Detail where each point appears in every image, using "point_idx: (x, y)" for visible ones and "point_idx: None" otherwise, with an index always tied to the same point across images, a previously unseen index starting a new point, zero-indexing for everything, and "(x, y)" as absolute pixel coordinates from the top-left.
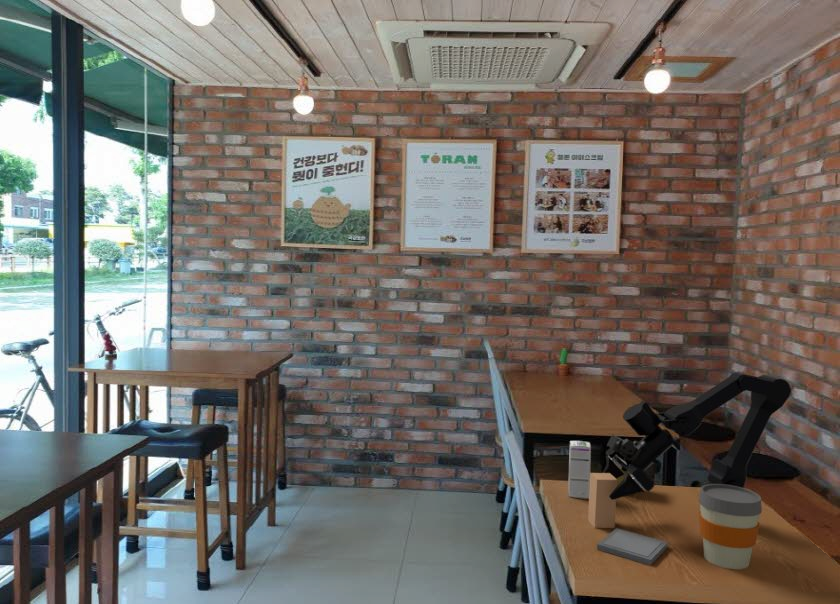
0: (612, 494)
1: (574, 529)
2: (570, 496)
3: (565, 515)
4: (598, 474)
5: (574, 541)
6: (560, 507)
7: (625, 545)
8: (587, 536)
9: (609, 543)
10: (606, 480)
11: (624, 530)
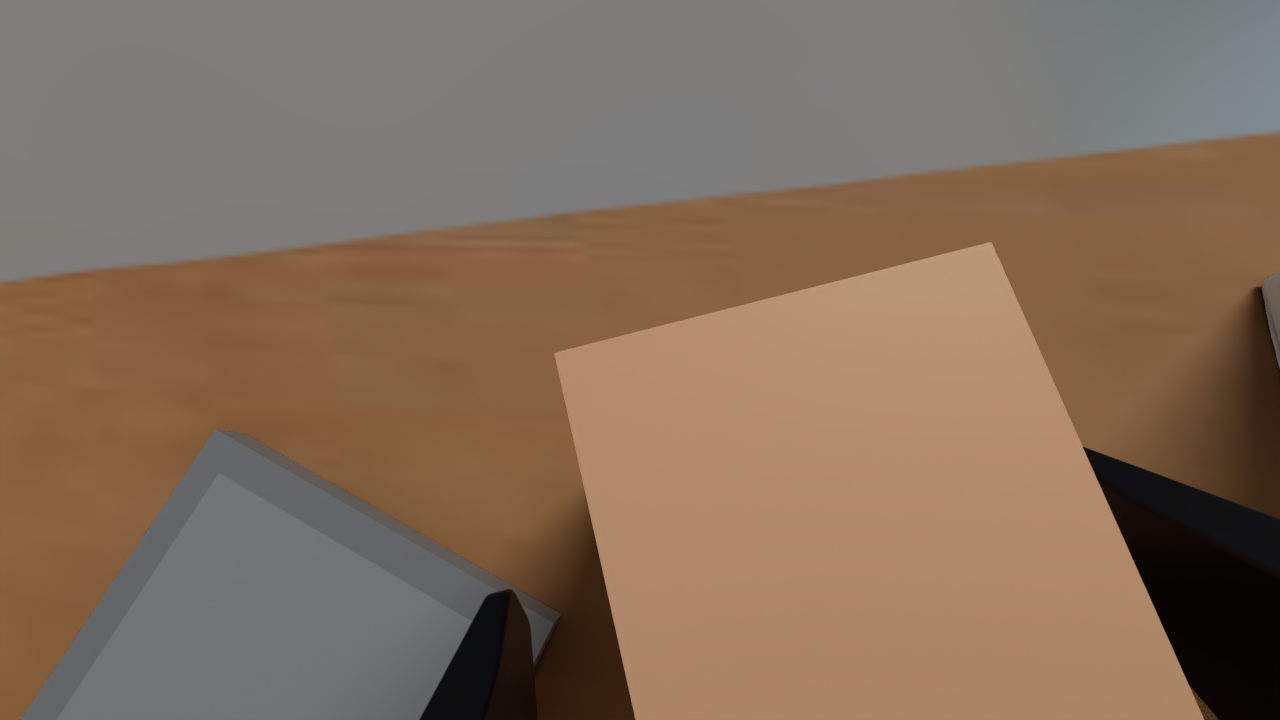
0: (465, 644)
1: (562, 303)
2: (1265, 293)
3: (814, 249)
4: (952, 414)
5: (357, 296)
6: (971, 218)
7: (194, 650)
8: (455, 384)
9: (223, 522)
10: (605, 572)
11: None
